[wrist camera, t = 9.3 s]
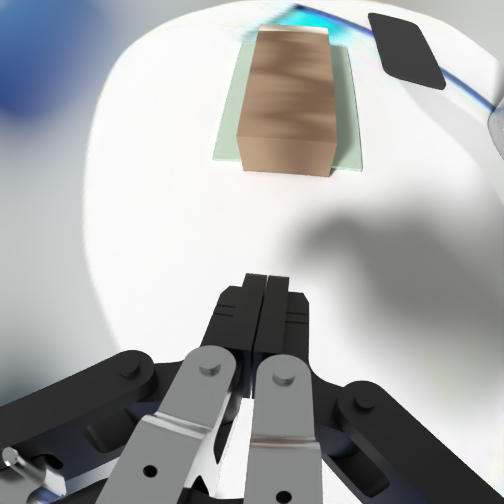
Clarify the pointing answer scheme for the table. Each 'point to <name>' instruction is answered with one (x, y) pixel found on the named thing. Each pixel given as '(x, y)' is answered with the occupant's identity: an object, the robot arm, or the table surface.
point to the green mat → (345, 109)
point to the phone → (405, 51)
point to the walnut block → (289, 103)
